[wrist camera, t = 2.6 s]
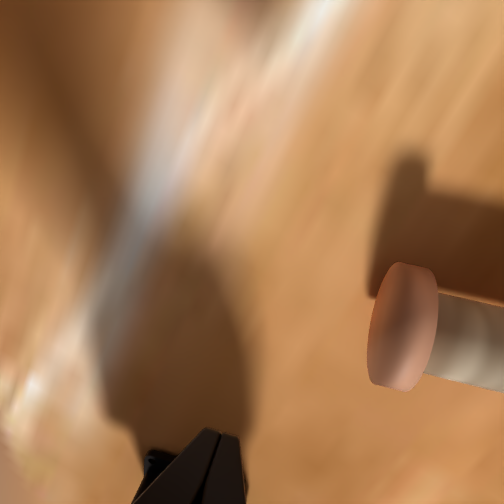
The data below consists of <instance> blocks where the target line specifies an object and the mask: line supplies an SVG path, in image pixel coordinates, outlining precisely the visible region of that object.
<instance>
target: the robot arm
mask: <svg viewBox="0 0 504 504" xmlns="http://www.w3.org/2000/svg"><path fill="white" fill-rule="evenodd" d="M131 504H246V497H245V479H244V477H243V468H242V458H241V449H240V440H239V437H238V436H237V435H233V434H230V433H226V432H224V433H222V435H221V431H219V430H216V429H212V428H209V427H206V428H204V429H203V430H202V431H201V432H200V433H199V434H198V435H197V436H196V437H195V438H194V439H193V440H192V441H191V442H190V443H189V444H188V445H187V447H186V448H185V449H184V450H183V451H182V452H181V453H180V454H179V455H178V456H177V457H175V456H172V455H168V454H165V453H162V452H158V451H155V450H150V451H148V452H147V454H146V456H145V459H144V478H143V480H142V482H141V484H140V486H139V488H138V490H137V493H136V495H135V497H134V499H133V501H132V503H131Z"/></svg>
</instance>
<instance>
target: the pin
mask: <svg viewBox="0 0 504 504" xmlns="http://www.w3.org/2000/svg"><path fill="white" fill-rule="evenodd" d="M367 367H368V374H369V377H370V380H371V382H372V383H373V384H376V385H380V386H384V387H388V388H392V389H395V390H399V391H403V392H406V391H409V390H411V389H412V388H413V387H414V386H415V385H416V384H417V383H418V381H419V379H420V378H421V376H422V374H423V373H425V374H429V375H433V376H437V377H441V378H445V379H449V380H453V381H457V382H461V383H465V384H469V385H473V386H477V387H481V388H485V389H489V390H493V391H497V392H501V393H504V307H500V306H495V305H491V304H486V303H482V302H477V301H473V300H468V299H464V298H459V297H455V296H451V295H446V294H442V293H438V288H437V283H436V279H435V277H434V274H433V273H432V271H431V270H430V269H428V268H425V267H420V266H416V265H411V264H406V263H402V262H396V263H394V264H393V265H392V266H391V267H390V268H389V270H388V271H387V273H386V275H385V277H384V279H383V281H382V284H381V286H380V289H379V292H378V295H377V298H376V301H375V305H374V309H373V313H372V318H371V323H370V329H369V336H368V346H367Z"/></svg>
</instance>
